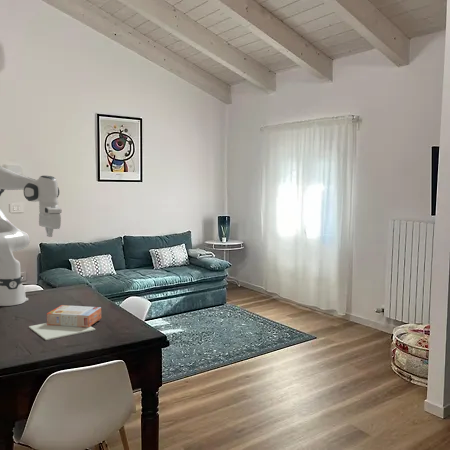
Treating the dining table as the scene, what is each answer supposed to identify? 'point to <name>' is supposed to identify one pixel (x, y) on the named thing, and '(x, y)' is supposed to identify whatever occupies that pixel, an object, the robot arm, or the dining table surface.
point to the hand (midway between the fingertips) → (49, 236)
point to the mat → (58, 330)
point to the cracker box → (74, 316)
